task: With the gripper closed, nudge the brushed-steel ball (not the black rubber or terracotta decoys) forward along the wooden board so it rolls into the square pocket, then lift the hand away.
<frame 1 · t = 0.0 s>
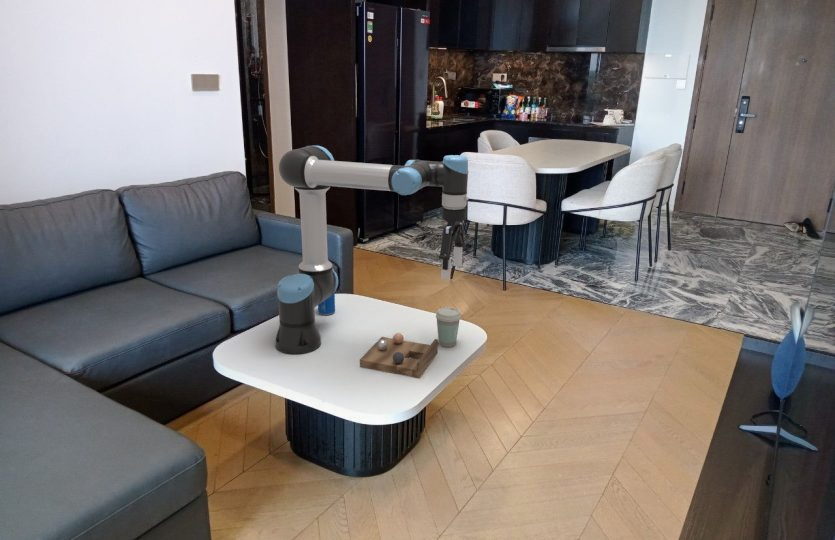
hand: (451, 272, 186), 28 cm above the table, fingers open, 13 cm apart
coffee cup: (447, 344, 201), on the table
black ball: (398, 357, 181), point 4 cm above the table, touching wooden board
beverage can: (326, 313, 224), on the table
steel ball: (382, 344, 189), point 4 cm above the table, touching wooden board
wooden board: (399, 359, 189), on the table
clay ball: (398, 338, 194), point 4 cm above the table, touching wooden board
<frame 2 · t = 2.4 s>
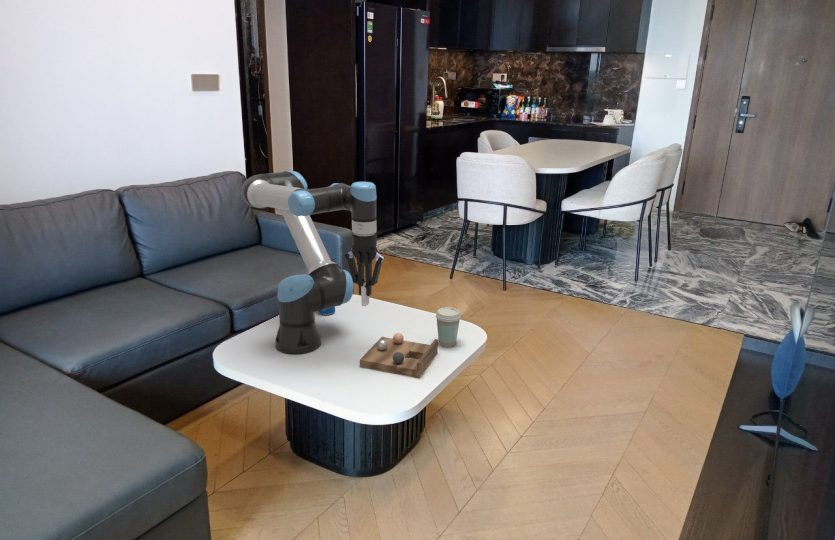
hand: (365, 304, 187), 18 cm above the table, fingers closed
nothing on the table moved.
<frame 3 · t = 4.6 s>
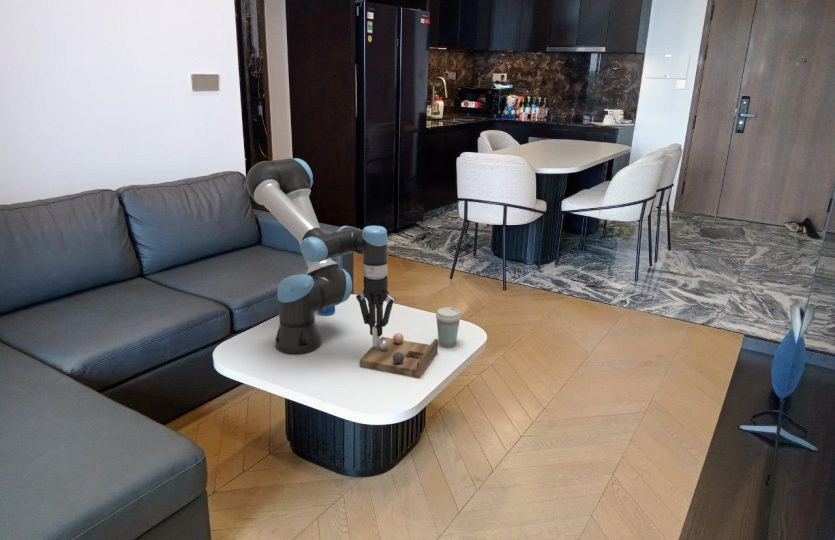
hand: (376, 344, 190), 4 cm above the table, fingers closed
steel ball: (383, 345, 189), point 4 cm above the table, tilted 11°, touching gripper, wooden board
everything else where it was.
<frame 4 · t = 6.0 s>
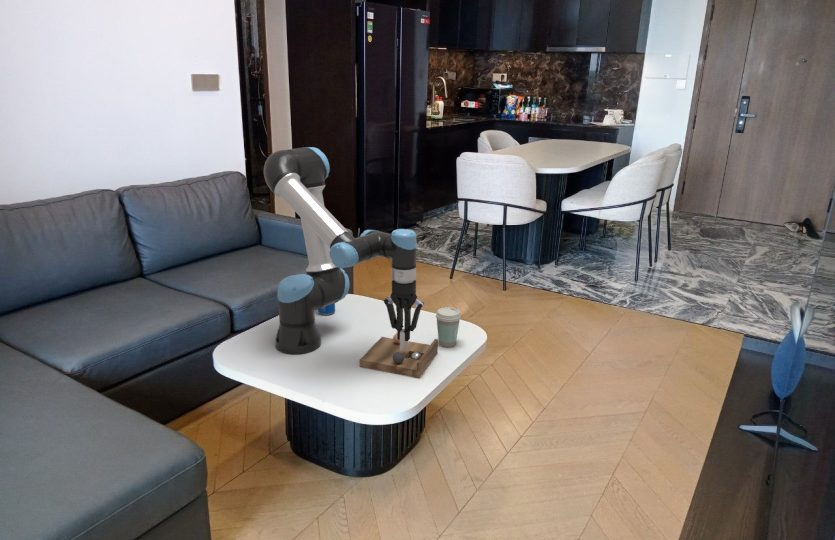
hand: (403, 349, 187), 4 cm above the table, fingers closed
steel ball: (416, 357, 186), point 2 cm above the table, tilted 53°
everything else where it was.
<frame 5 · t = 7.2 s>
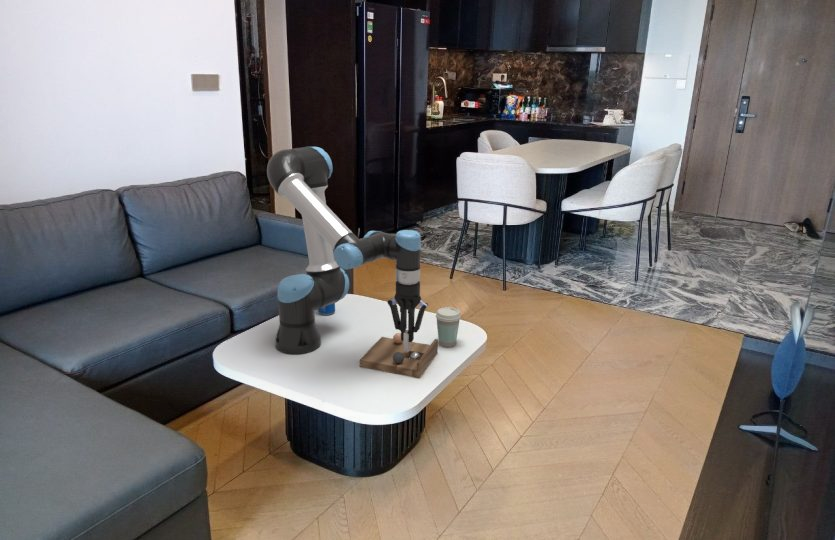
hand: (407, 350, 187), 4 cm above the table, fingers closed
steel ball: (415, 357, 186), point 2 cm above the table, tilted 42°
everything else where it was.
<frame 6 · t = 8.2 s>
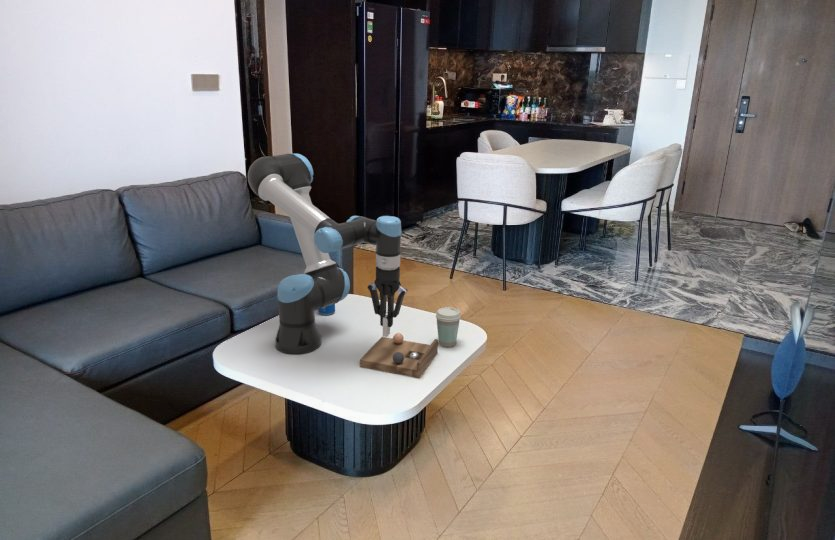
hand: (386, 334, 189), 7 cm above the table, fingers closed
steel ball: (414, 357, 187), point 2 cm above the table, tilted 33°
everything else where it was.
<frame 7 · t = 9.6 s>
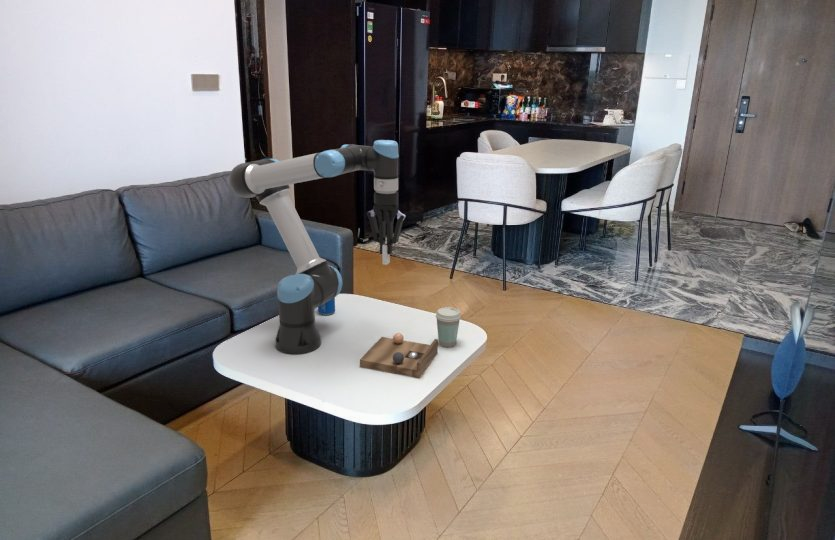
hand: (386, 263, 189), 29 cm above the table, fingers closed
steel ball: (413, 357, 187), point 2 cm above the table, tilted 21°
everything else where it was.
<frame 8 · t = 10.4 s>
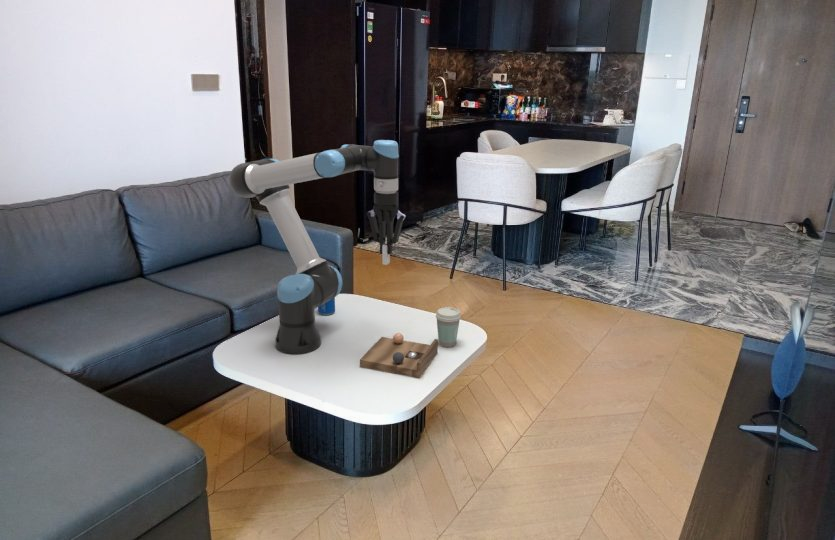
hand: (386, 263, 189), 29 cm above the table, fingers closed
steel ball: (412, 357, 187), point 2 cm above the table, tilted 14°
everything else where it was.
at the end: steel ball 0.6 cm from the target spot on the wooden board, point 1.7 cm above the wooden board's base; black ball moved 0.1 cm from its start; clay ball moved 0.1 cm from its start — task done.
